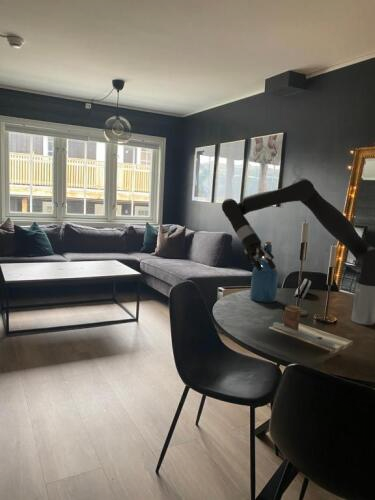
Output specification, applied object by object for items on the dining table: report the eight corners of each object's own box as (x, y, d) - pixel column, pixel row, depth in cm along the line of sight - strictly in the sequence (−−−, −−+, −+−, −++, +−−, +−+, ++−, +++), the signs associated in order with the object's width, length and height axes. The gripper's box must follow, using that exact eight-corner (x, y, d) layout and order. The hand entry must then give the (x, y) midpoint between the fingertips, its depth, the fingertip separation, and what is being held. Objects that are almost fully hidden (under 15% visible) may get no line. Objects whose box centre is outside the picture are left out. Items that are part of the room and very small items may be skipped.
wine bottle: (281, 302, 193) (287, 243, 189) (261, 304, 186) (267, 243, 182) (262, 295, 204) (268, 239, 200) (243, 297, 197) (248, 239, 193)
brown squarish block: (289, 326, 151) (291, 304, 150) (298, 330, 148) (300, 307, 146) (283, 328, 148) (285, 306, 147) (292, 332, 145) (294, 309, 144)
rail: (275, 326, 150) (275, 321, 150) (334, 347, 132) (335, 342, 132) (272, 327, 149) (273, 321, 149) (332, 348, 131) (333, 343, 130)
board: (291, 324, 159) (292, 320, 159) (352, 345, 140) (353, 341, 139) (267, 331, 149) (268, 327, 148) (330, 354, 129) (330, 350, 129)
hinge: (296, 290, 221) (304, 275, 219) (303, 294, 220) (312, 279, 217) (293, 296, 205) (302, 280, 203) (302, 301, 204) (310, 284, 202)
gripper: (242, 232, 157) (262, 265, 150) (264, 232, 166) (283, 263, 159) (232, 243, 161) (250, 275, 155) (253, 242, 171) (272, 273, 164)
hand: (267, 269), depth 157 cm, fingers open, 8 cm apart
